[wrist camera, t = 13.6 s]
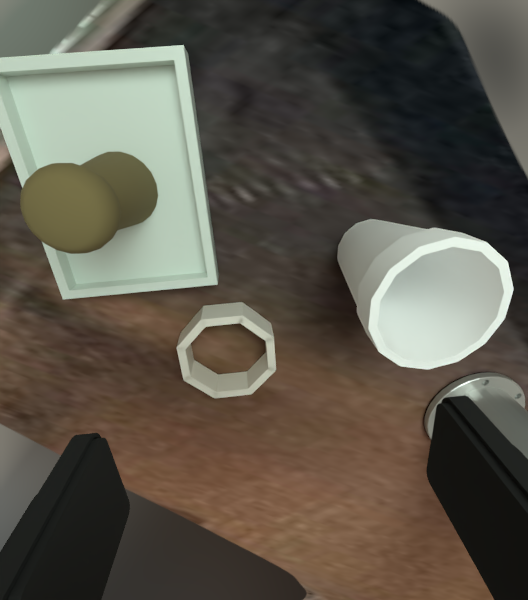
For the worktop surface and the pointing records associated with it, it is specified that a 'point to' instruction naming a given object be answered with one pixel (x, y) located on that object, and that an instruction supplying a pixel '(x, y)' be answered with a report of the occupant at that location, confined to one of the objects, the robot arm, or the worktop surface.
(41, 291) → the worktop surface
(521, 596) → the robot arm
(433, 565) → the worktop surface
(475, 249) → the foam cup
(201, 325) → the collar
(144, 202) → the cork
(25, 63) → the tray
